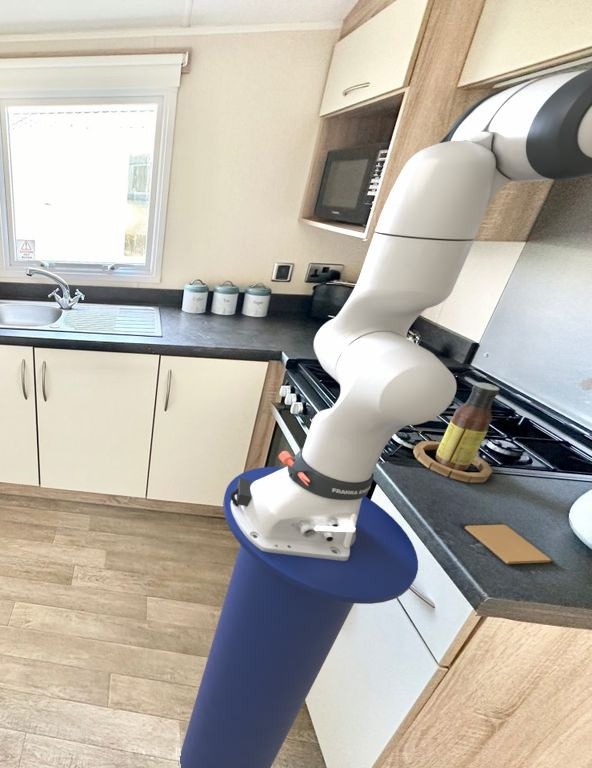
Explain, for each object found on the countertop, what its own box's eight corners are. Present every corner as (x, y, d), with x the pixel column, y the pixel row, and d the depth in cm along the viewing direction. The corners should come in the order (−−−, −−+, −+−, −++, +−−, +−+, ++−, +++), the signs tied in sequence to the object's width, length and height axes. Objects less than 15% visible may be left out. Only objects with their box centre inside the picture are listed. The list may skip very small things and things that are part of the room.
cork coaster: (507, 564, 69) (509, 561, 69) (464, 528, 76) (465, 525, 76) (550, 562, 70) (551, 559, 70) (503, 526, 77) (505, 524, 77)
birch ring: (447, 483, 88) (451, 477, 87) (399, 446, 100) (402, 441, 99) (504, 481, 89) (508, 475, 88) (450, 445, 101) (453, 440, 100)
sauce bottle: (471, 466, 94) (515, 389, 85) (462, 475, 90) (507, 396, 82) (437, 451, 98) (475, 377, 90) (427, 460, 95) (465, 384, 86)
